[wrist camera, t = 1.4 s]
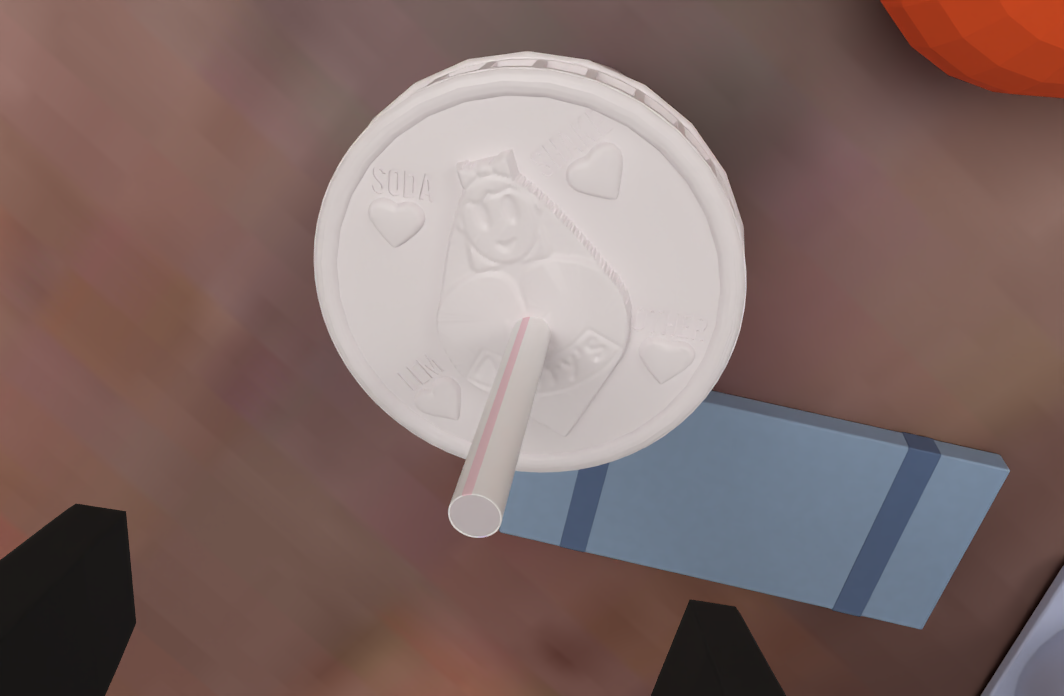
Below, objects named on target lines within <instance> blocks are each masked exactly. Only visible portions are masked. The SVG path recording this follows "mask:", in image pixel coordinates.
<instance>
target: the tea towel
mask: <svg viewBox="0 0 1064 696" xmlns="http://www.w3.org/2000/svg"><path fill="white" fill-rule="evenodd" d="M1009 471H1010V470H1009V468H1008V467H1007V465H1006V463H1005V462H1004V460H1003V459H1002V457H1001V456H1000V455H998V454H994V453H990V452H985V451H981V450H976V449H972V448H967V447H963V446H958V445H954V444H949V443H945V442H940V441H936V440H933V439H932V438H927V437H923V436H918V435H914V434H909V433H905V432H902V433H900V432H896V431H891V430H887V429H882V428H878V427H873V426H869V425H864V424H860V423H855V422H851V421H846V420H842V419H837V418H833V417H828V416H824V415H819V414H815V413H810V412H806V411H801V410H797V409H792V408H788V407H783V406H779V405H774V404H770V403H765V402H761V401H756V400H752V399H747V398H743V397H738V396H734V395H729V394H725V393H720V392H716V391H710V393H709V394H708V395H707V397H706V398H705V399H704V400H703V401H702V403H701V404H700V405H699V406H698V407H697V408H696V409H695V410H694V412H693V413H692V414H690V415H689V416H688V417H687V418H686V419H685V420H684V421H683V422H682V423H681V424H680V425H678V426H677V427H676V428H674V429H673V430H672V431H670V432H669V433H668V434H666V435H665V436H664V437H662V438H660V439H659V440H657V441H656V442H654V443H652V444H651V445H649V446H647V447H645V448H643V449H641V450H639V451H637V452H635V453H633V454H631V455H628V456H626V457H623V458H621V459H618V460H615V461H613V462H609V463H606V464H602V465H599V466H595V467H590V468H585V469H580V470H573V471H564V472H542V473H538V472H521V471H515V473H514V477H513V481H512V484H511V488H510V492H509V496H508V500H507V503H506V507H505V511H504V515H503V518H502V522H501V525H500V527H499V531H500V532H501V533H506V534H510V535H514V536H519V537H523V538H527V539H532V540H536V541H540V542H545V543H549V544H553V545H558V546H560V547H563V548H568V549H572V550H576V551H581V552H588V553H592V554H597V555H601V556H605V557H609V558H614V559H618V560H622V561H627V562H631V563H635V564H640V565H644V566H648V567H653V568H657V569H661V570H666V571H670V572H674V573H679V574H683V575H687V576H692V577H696V578H700V579H705V580H709V581H713V582H718V583H722V584H726V585H731V586H735V587H739V588H744V589H748V590H752V591H757V592H761V593H765V594H769V595H774V596H778V597H782V598H787V599H791V600H795V601H800V602H804V603H808V604H813V605H817V606H821V607H826V608H830V609H832V610H833V611H837V612H842V613H846V614H850V615H855V616H859V617H860V616H865V617H869V618H873V619H878V620H882V621H886V622H891V623H895V624H899V625H904V626H908V627H912V628H917V629H922V628H923V627H924V625H925V623H926V621H927V620H928V618H929V616H930V614H931V612H932V611H933V609H934V607H935V605H936V603H937V602H938V600H939V598H940V596H941V594H942V593H943V591H944V589H945V587H946V585H947V584H948V582H949V580H950V578H951V576H952V575H953V573H954V571H955V569H956V567H957V566H958V564H959V562H960V560H961V558H962V557H963V555H964V553H965V551H966V549H967V548H968V546H969V544H970V542H971V540H972V539H973V537H974V535H975V533H976V531H977V530H978V528H979V526H980V524H981V522H982V521H983V519H984V517H985V515H986V513H987V512H988V510H989V508H990V506H991V504H992V503H993V501H994V499H995V497H996V495H997V494H998V492H999V490H1000V488H1001V486H1002V485H1003V483H1004V481H1005V479H1006V477H1007V476H1008V474H1009Z"/></svg>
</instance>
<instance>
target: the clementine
mask: <svg viewBox="0 0 1064 696" xmlns="http://www.w3.org/2000/svg"><path fill="white" fill-rule="evenodd" d="M880 1H881V3H882V4H883V6H884V7H885V9H886V10H887V12H888V13H889V15H890V16H891V18H892V19H893V21H894V22H895V23H896V25H897V26H898V28H899V29H900V31H901V32H902V34H903V35H904V37H905V38H906V40H907V41H908V43H909V44H910V45H911V47H913V48H914V49H915V50H916V51H918V52H919V53H920V54H922V55H923V56H924V57H925V58H927V59H928V60H929V61H931V62H932V63H933V64H934V65H936V66H937V67H938V68H940V69H941V70H942V71H943V72H945V73H946V74H947V75H949V76H952V77H955V78H957V79H960V80H963V81H965V82H968V83H971V84H973V85H976V86H979V87H981V88H984V89H987V90H990V91H992V92H999V93H1008V94H1018V95H1030V96H1043V97H1056V98H1064V0H880Z"/></svg>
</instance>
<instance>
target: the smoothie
mask: <svg viewBox="0 0 1064 696" xmlns="http://www.w3.org/2000/svg"><path fill="white" fill-rule="evenodd" d="M314 273H315V283H316V289H317V295H318V300H319V304H320V308H321V311H322V315H323V318H324V321H325V324H326V326H327V329H328V332H329V334H330V337H331V339H332V341H333V343H334V345H335V347H336V349H337V351H338V353H339V355H340V356H341V358H342V360H343V362H344V363H345V365H346V367H347V368H348V370H349V371H350V372H351V374H352V375H353V377H354V378H355V379H356V381H357V382H358V384H359V385H360V386H361V387H362V388H363V389H364V391H365V392H366V393H367V394H368V395H369V396H370V398H371V399H372V400H373V401H374V402H375V403H376V404H377V405H378V406H379V407H380V408H381V409H382V410H384V411H385V412H386V413H387V414H388V415H389V416H391V417H392V418H393V419H394V420H395V421H397V422H398V423H399V424H400V425H402V426H403V427H405V428H406V429H407V430H409V431H410V432H412V433H413V434H415V435H416V436H418V437H420V438H421V439H423V440H425V441H426V442H428V443H430V444H432V445H434V446H436V447H438V448H440V449H442V450H444V451H446V452H448V453H451V454H453V455H456V456H458V457H461V458H463V459H466V461H465V463H464V466H463V469H462V472H461V475H460V477H459V480H458V483H457V486H456V488H455V491H454V494H453V497H452V499H451V502H450V505H449V508H448V517H449V520H450V522H451V524H452V525H453V527H454V528H455V529H456V530H458V531H459V532H461V533H462V534H464V535H467V536H470V537H475V538H483V537H487V536H490V535H492V534H494V533H495V532H496V531H497V530H498V529H499V527H500V525H501V522H502V518H503V515H504V511H505V507H506V503H507V500H508V496H509V492H510V488H511V484H512V481H513V477H514V473H515V471H521V472H538V473H542V472H564V471H573V470H580V469H585V468H590V467H595V466H599V465H602V464H606V463H609V462H613V461H615V460H618V459H621V458H623V457H626V456H628V455H631V454H633V453H635V452H637V451H639V450H641V449H643V448H645V447H647V446H649V445H651V444H652V443H654V442H656V441H657V440H659V439H660V438H662V437H664V436H665V435H666V434H668V433H669V432H670V431H672V430H673V429H674V428H676V427H677V426H678V425H680V424H681V423H682V422H683V421H684V420H685V419H686V418H687V417H688V416H689V415H690V414H692V413H693V412H694V410H695V409H696V408H697V407H698V406H699V405H700V404H701V403H702V401H703V400H704V399H705V398H706V397H707V395H708V394H709V393H710V391H711V390H712V389H713V387H714V386H715V384H716V383H717V381H718V380H719V378H720V376H721V374H722V373H723V371H724V369H725V368H726V366H727V364H728V361H729V359H730V357H731V355H732V352H733V350H734V348H735V345H736V342H737V338H738V335H739V332H740V329H741V324H742V319H743V315H744V310H745V300H746V263H745V249H744V226H743V223H742V220H741V216H740V213H739V210H738V207H737V204H736V201H735V198H734V195H733V192H732V189H731V186H730V183H729V180H728V177H727V174H726V172H725V170H724V169H723V168H722V166H721V165H720V163H719V162H718V160H717V159H716V157H715V156H714V155H713V153H712V152H711V150H710V149H709V147H708V146H707V144H706V143H705V141H704V140H703V139H702V137H701V136H700V134H699V133H698V131H697V130H696V128H695V127H694V126H693V124H692V123H691V122H690V121H688V120H687V119H686V118H685V117H683V116H682V115H681V114H680V113H679V112H677V111H676V110H675V109H674V108H673V107H671V106H670V105H669V104H668V103H667V102H665V101H664V100H663V99H662V98H660V97H659V96H658V95H657V94H656V93H654V92H653V91H652V90H651V89H650V88H648V87H647V86H646V85H644V84H642V83H640V82H637V81H635V80H633V79H631V78H628V77H626V76H625V75H623V74H622V73H620V72H619V71H617V70H615V69H613V68H611V67H608V66H606V65H603V64H600V63H595V62H592V61H590V60H586V59H579V58H572V57H565V56H558V55H551V54H544V53H537V52H530V51H525V52H517V53H510V54H503V55H495V56H488V57H481V58H473V59H467V60H465V61H463V62H461V63H458V64H456V65H454V66H452V67H449V68H447V69H445V70H443V71H440V72H438V73H436V74H434V75H431V76H429V77H427V78H425V79H422V80H420V81H418V82H416V83H414V84H413V85H412V86H411V87H409V88H408V89H407V90H406V91H405V92H404V93H403V94H401V95H400V96H399V97H398V98H397V99H396V100H394V101H393V102H392V103H391V104H390V105H389V106H387V107H386V108H385V109H384V110H383V111H382V112H380V113H379V114H378V115H377V116H376V117H375V118H373V119H372V121H371V123H370V124H369V126H368V127H367V128H366V129H365V130H364V131H363V132H362V134H361V135H360V136H359V137H358V138H357V140H356V141H355V142H354V143H353V144H352V146H351V147H350V148H349V150H348V151H347V153H346V154H345V156H344V157H343V159H342V160H341V162H340V163H339V165H338V167H337V169H336V171H335V173H334V175H333V177H332V179H331V181H330V183H329V185H328V188H327V191H326V193H325V196H324V198H323V201H322V205H321V209H320V212H319V216H318V220H317V227H316V233H315V241H314Z"/></svg>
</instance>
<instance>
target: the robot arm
mask: <svg viewBox="0 0 1064 696" xmlns="http://www.w3.org/2000/svg"><path fill="white" fill-rule="evenodd" d="M135 624H136V617H135V606H134V595H133V584H132V573H131V562H130V551H129V540H128V529H127V518H126V511H120V510H113V509H107V508H101V507H94V506H88V505H81V504H75V505H73V506H72V507H70V508H69V509H67V510H66V511H64V512H63V513H62V514H60V515H59V516H58V517H56V518H55V519H54V520H52V521H51V522H50V523H48V524H47V525H46V526H44V527H43V528H42V529H41V530H39V531H38V532H37V533H35V534H34V535H33V536H31V537H30V538H29V539H27V540H26V541H25V542H23V543H22V544H21V545H20V546H18V547H17V548H16V549H14V550H13V551H12V552H10V553H9V554H8V555H6V556H5V557H4V558H2V559H1V560H0V696H105V694H106V692H107V690H108V687H109V685H110V683H111V681H112V678H113V676H114V674H115V672H116V669H117V667H118V665H119V663H120V660H121V658H122V655H123V653H124V651H125V648H126V646H127V643H128V641H129V639H130V636H131V634H132V631H133V629H134V627H135ZM651 696H786V695H785V693H784V691H783V689H782V688H781V686H780V684H779V682H778V681H777V679H776V677H775V675H774V674H773V672H772V670H771V668H770V666H769V665H768V663H767V661H766V659H765V658H764V656H763V654H762V652H761V650H760V648H759V647H758V645H757V643H756V641H755V639H754V638H753V636H752V634H751V632H750V630H749V629H748V627H747V625H746V623H745V621H744V620H743V618H742V616H741V614H740V613H739V611H738V610H737V608H736V607H735V606H728V605H722V604H715V603H709V602H703V601H696V600H689V603H688V605H687V608H686V610H685V613H684V615H683V618H682V620H681V622H680V625H679V627H678V630H677V632H676V635H675V637H674V640H673V642H672V645H671V647H670V650H669V652H668V655H667V657H666V659H665V662H664V664H663V667H662V669H661V672H660V674H659V677H658V679H657V682H656V684H655V687H654V689H653V692H652V694H651ZM981 696H1064V566H1063V567H1062V568H1061V570H1060V571H1059V573H1058V575H1057V576H1056V578H1055V579H1054V581H1053V582H1052V584H1051V586H1050V587H1049V589H1048V590H1047V592H1046V593H1045V595H1044V597H1043V598H1042V600H1041V601H1040V603H1039V604H1038V606H1037V608H1036V609H1035V611H1034V612H1033V614H1032V615H1031V617H1030V619H1029V620H1028V622H1027V623H1026V625H1025V626H1024V628H1023V630H1022V631H1021V633H1020V634H1019V636H1018V637H1017V639H1016V641H1015V642H1014V644H1013V645H1012V647H1011V648H1010V650H1009V652H1008V653H1007V655H1006V656H1005V658H1004V660H1003V661H1002V663H1001V664H1000V666H999V667H998V669H997V671H996V672H995V674H994V675H993V677H992V678H991V680H990V682H989V683H988V685H987V686H986V688H985V689H984V691H983V693H982V694H981Z"/></svg>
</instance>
